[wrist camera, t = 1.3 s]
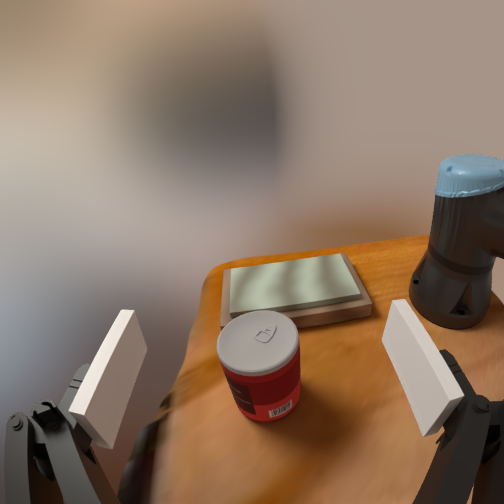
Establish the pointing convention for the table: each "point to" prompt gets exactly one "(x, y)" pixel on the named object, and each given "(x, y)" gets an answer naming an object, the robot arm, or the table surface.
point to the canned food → (262, 364)
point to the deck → (297, 291)
